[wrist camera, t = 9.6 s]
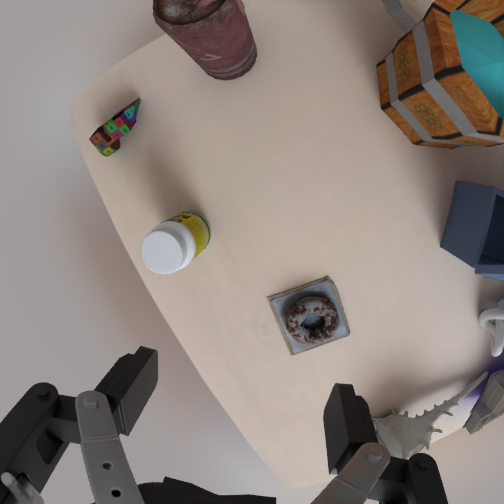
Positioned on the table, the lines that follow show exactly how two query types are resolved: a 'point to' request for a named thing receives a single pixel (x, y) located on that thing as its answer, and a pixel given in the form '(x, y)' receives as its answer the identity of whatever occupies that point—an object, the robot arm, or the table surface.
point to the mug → (447, 74)
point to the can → (210, 34)
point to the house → (488, 403)
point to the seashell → (415, 426)
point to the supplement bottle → (175, 242)
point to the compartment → (476, 225)
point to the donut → (310, 315)
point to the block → (115, 129)
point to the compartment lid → (491, 271)
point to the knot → (494, 326)
